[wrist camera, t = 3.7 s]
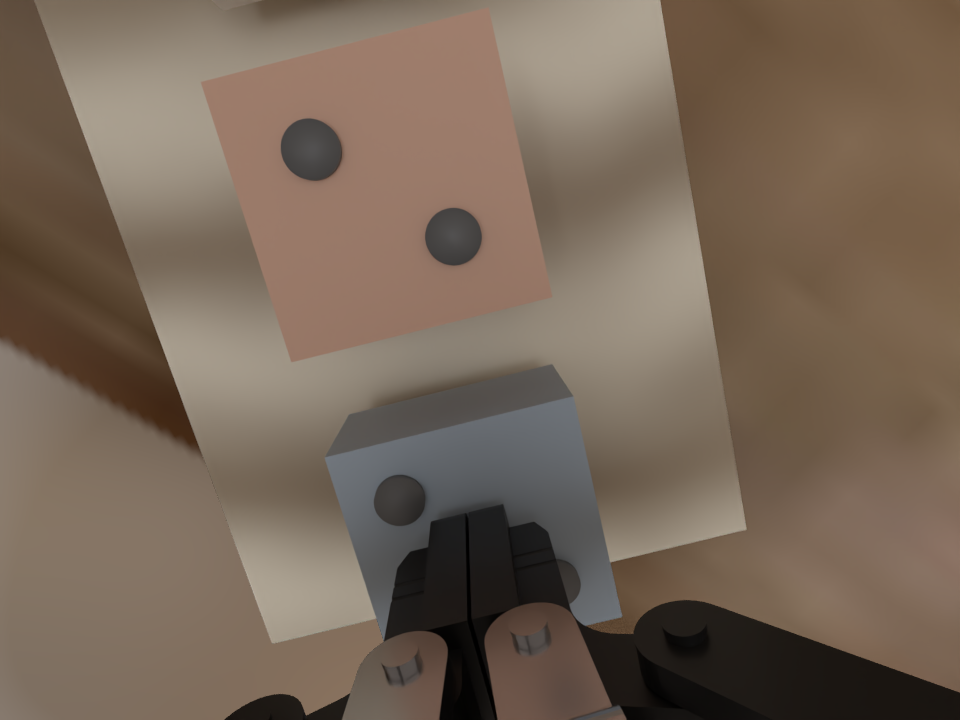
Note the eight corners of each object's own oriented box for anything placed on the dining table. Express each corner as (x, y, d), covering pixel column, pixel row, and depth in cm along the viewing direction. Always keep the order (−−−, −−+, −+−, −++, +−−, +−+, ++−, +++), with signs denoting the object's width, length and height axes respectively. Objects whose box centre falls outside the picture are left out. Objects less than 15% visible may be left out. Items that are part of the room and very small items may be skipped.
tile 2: (253, 111, 13) (196, 79, 10) (482, 52, 13) (489, 3, 10) (323, 335, 14) (288, 364, 11) (534, 282, 14) (554, 298, 11)
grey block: (349, 414, 15) (322, 461, 12) (551, 364, 15) (575, 399, 12) (404, 594, 16) (392, 678, 13) (594, 548, 16) (625, 623, 13)
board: (12, -179, 15) (-124, -301, 11) (574, -330, 15) (610, -503, 11) (290, 602, 20) (254, 684, 16) (717, 498, 20) (774, 559, 16)
